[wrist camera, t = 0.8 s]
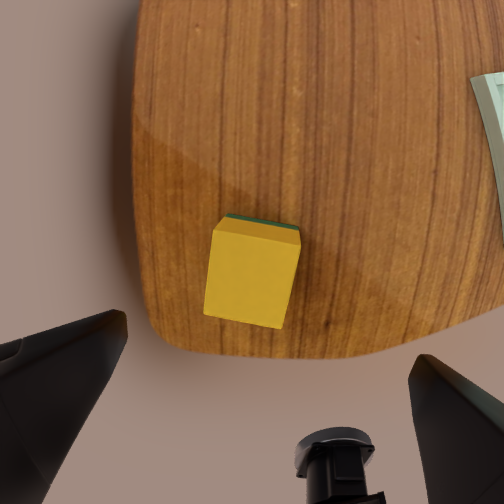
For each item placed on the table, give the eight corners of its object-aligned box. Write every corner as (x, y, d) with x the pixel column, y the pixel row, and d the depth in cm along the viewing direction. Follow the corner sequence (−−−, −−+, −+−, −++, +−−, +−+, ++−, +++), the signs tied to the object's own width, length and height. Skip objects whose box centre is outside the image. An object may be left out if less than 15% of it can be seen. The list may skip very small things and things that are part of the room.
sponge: (282, 298, 22) (281, 330, 18) (216, 285, 22) (202, 314, 18) (298, 226, 20) (301, 245, 16) (227, 212, 20) (213, 229, 16)
